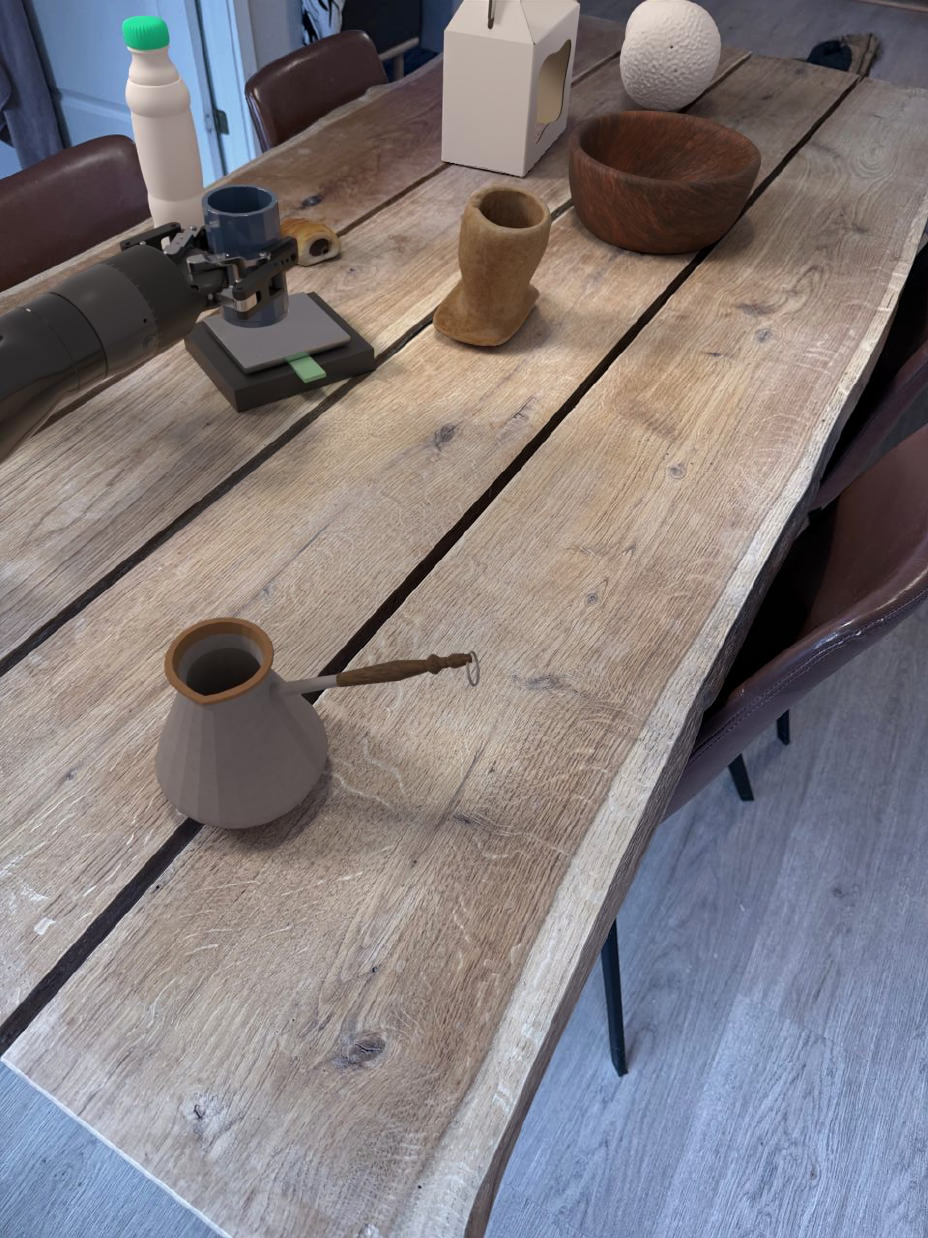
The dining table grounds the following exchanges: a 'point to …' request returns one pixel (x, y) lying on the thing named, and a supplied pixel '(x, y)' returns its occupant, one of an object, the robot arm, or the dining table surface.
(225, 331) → the scale pan
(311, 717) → the coffee pot
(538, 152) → the gable box
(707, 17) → the decorative orb
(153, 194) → the water bottle
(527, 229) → the stone cup
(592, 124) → the wooden bowl
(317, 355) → the scale
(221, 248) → the cup
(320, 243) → the pastry
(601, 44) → the dining table surface
